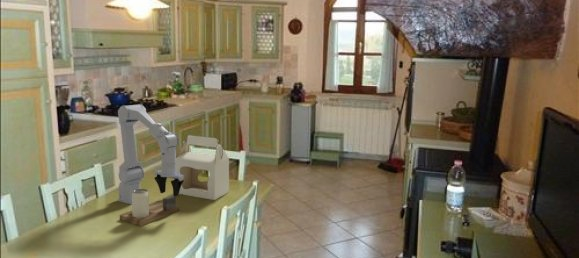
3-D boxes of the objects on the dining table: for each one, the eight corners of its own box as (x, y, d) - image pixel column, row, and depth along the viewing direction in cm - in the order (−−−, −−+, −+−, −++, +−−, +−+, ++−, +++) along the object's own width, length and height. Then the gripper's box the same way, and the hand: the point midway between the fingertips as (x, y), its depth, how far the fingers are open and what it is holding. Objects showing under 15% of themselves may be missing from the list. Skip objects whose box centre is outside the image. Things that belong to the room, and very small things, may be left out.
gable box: (229, 192, 220) (229, 136, 215) (215, 200, 208) (215, 141, 203) (190, 186, 228) (190, 132, 223) (175, 193, 216) (174, 136, 211)
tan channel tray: (119, 219, 181) (119, 203, 180) (158, 205, 199) (158, 189, 198) (141, 226, 175) (140, 209, 174) (179, 210, 193) (179, 195, 192)
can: (144, 222, 179) (143, 194, 177) (129, 221, 180) (128, 192, 178) (152, 217, 185) (151, 189, 183) (137, 215, 186) (137, 187, 184)
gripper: (148, 162, 186) (149, 193, 188) (174, 167, 179) (175, 200, 181) (161, 158, 192) (162, 189, 194) (187, 163, 185) (187, 195, 187)
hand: (169, 194), depth 188 cm, fingers open, 7 cm apart
